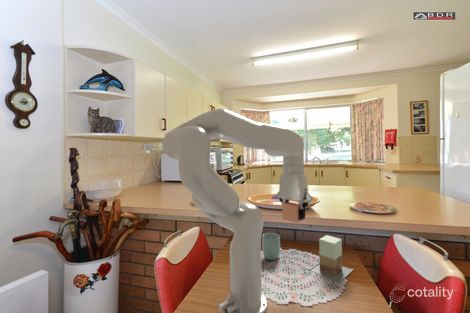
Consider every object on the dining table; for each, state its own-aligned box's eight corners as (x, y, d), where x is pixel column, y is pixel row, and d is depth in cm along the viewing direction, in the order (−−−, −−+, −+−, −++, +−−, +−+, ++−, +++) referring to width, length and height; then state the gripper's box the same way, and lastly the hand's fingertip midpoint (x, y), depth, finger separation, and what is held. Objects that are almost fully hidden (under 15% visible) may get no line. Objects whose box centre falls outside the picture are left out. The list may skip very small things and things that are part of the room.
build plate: (339, 284, 77) (339, 281, 77) (308, 271, 86) (308, 268, 86) (353, 272, 85) (353, 269, 85) (323, 261, 94) (323, 258, 94)
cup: (280, 263, 93) (279, 239, 93) (261, 261, 95) (261, 238, 95) (280, 254, 101) (279, 233, 101) (263, 253, 103) (262, 232, 102)
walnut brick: (335, 275, 82) (334, 259, 82) (319, 269, 86) (319, 254, 86) (342, 269, 86) (341, 254, 86) (327, 264, 90) (326, 249, 90)
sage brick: (334, 259, 82) (334, 243, 81) (319, 254, 86) (319, 239, 86) (341, 254, 86) (341, 239, 85) (326, 249, 90) (326, 235, 90)
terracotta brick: (296, 222, 79) (296, 205, 79) (282, 219, 84) (282, 203, 84) (305, 219, 83) (305, 203, 83) (291, 216, 88) (291, 200, 88)
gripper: (269, 169, 87) (269, 214, 87) (309, 171, 74) (309, 224, 74) (280, 168, 92) (281, 211, 92) (320, 169, 79) (320, 220, 79)
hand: (293, 216), depth 83 cm, fingers closed on terracotta brick, 6 cm apart
